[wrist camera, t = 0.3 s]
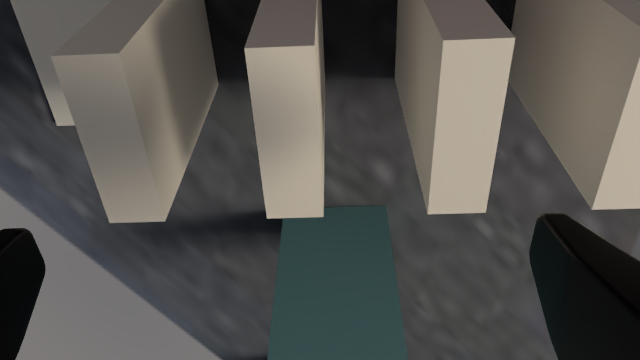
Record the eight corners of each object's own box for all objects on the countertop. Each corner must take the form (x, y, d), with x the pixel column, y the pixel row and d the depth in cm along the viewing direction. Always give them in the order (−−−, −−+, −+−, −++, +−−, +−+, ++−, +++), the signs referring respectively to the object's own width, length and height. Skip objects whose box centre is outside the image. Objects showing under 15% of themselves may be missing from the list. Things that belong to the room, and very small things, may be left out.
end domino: (384, 230, 27) (406, 390, 20) (286, 233, 27) (271, 392, 20) (385, 205, 26) (408, 363, 19) (283, 208, 26) (266, 365, 19)
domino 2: (319, -46, 19) (314, 45, 12) (325, 81, 22) (323, 217, 15) (275, -44, 19) (244, 48, 12) (287, 82, 22) (266, 218, 15)
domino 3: (443, -52, 19) (515, 37, 12) (433, 77, 22) (485, 212, 15) (399, -50, 19) (443, 40, 12) (394, 78, 22) (427, 214, 15)
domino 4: (570, -57, 19) (721, 29, 12) (542, 73, 22) (651, 208, 15) (525, -55, 19) (647, 32, 12) (503, 74, 22) (591, 209, 15)
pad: (149, 119, 23) (147, 122, 23) (59, 122, 24) (57, 125, 23) (97, -81, 19) (94, -79, 19) (-14, -75, 19) (-18, -74, 19)
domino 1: (197, -40, 20) (118, 53, 12) (218, 85, 22) (165, 221, 15) (154, -38, 20) (51, 56, 12) (181, 86, 23) (109, 222, 15)
